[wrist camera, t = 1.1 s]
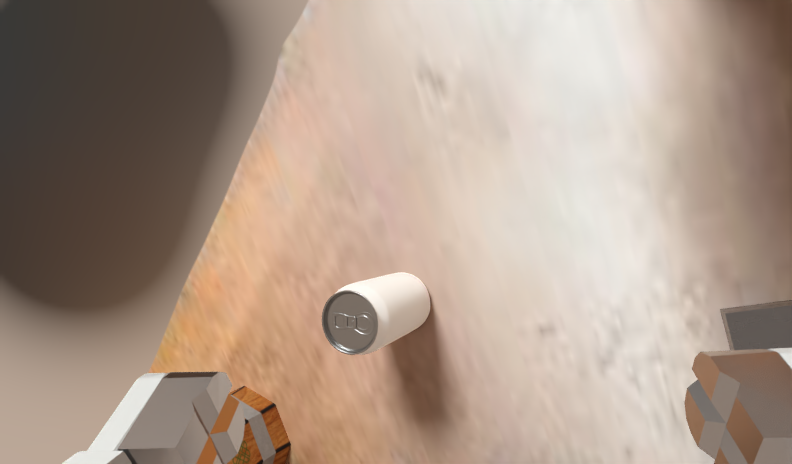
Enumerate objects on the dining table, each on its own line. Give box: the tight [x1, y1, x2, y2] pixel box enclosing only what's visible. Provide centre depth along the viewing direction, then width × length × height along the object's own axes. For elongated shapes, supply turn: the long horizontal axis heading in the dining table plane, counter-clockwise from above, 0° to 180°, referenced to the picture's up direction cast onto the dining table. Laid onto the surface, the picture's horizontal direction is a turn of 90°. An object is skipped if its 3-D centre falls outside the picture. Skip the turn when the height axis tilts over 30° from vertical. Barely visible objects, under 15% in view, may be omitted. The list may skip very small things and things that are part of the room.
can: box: [322, 272, 430, 355], centre depth 47 cm, size 6×6×12 cm
